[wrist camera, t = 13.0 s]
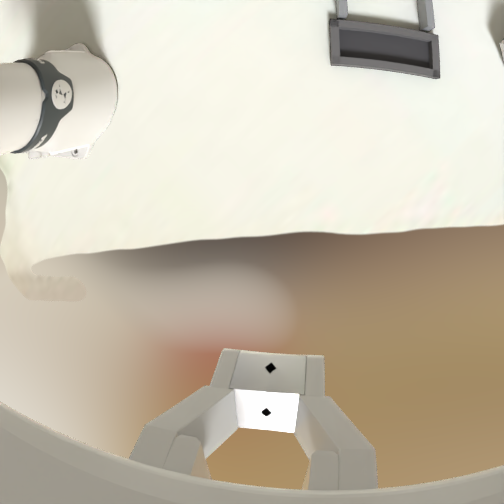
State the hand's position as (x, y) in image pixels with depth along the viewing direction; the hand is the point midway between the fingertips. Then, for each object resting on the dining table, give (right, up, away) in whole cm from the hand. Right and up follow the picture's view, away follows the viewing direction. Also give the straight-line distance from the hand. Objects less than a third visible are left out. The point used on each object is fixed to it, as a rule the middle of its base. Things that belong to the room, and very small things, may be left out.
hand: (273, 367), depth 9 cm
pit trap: (+16, +29, +22) cm, 39 cm away
